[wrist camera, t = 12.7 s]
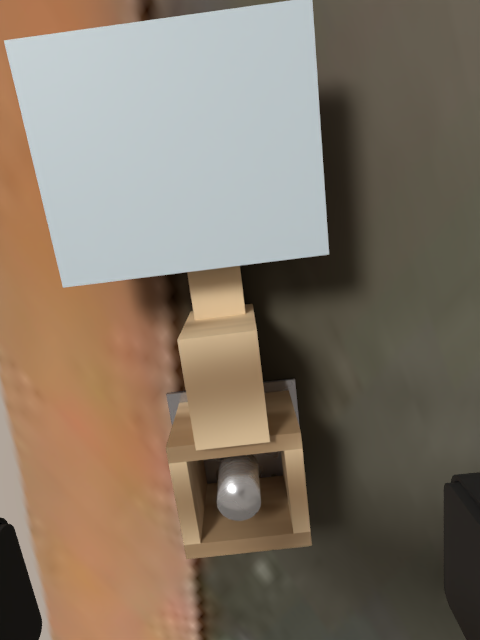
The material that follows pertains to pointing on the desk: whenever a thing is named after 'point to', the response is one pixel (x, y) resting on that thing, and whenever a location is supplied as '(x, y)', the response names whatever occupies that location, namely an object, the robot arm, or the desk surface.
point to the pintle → (241, 464)
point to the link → (232, 426)
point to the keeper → (176, 141)
